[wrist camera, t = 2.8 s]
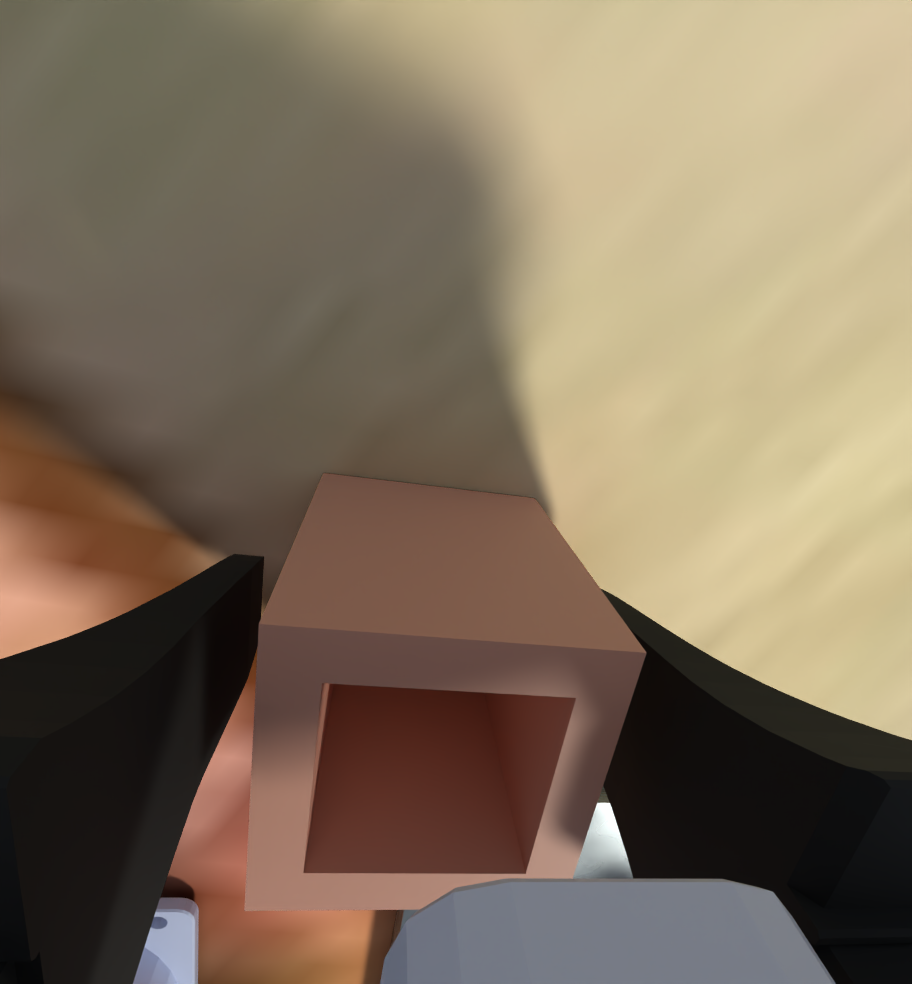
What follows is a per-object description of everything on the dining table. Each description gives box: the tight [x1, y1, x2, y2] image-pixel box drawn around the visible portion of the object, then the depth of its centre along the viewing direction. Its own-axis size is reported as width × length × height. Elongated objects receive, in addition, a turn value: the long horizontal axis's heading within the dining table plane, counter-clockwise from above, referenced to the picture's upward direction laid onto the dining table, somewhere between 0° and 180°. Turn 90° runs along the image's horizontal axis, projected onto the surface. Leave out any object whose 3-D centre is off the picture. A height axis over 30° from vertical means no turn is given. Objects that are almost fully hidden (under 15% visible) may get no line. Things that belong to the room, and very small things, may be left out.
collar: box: [245, 473, 646, 911], centre depth 10 cm, size 5×5×6 cm
